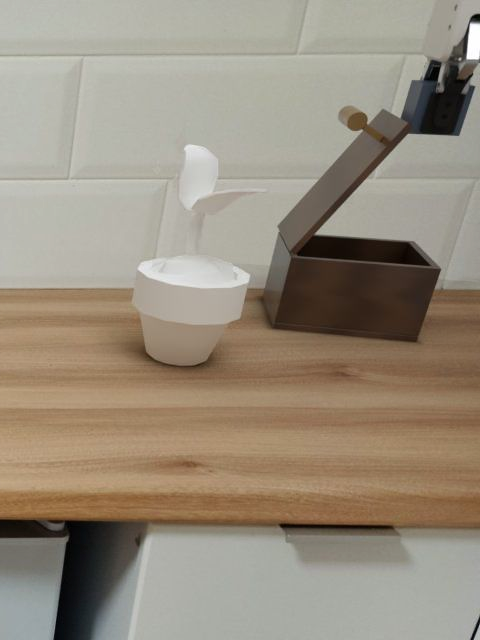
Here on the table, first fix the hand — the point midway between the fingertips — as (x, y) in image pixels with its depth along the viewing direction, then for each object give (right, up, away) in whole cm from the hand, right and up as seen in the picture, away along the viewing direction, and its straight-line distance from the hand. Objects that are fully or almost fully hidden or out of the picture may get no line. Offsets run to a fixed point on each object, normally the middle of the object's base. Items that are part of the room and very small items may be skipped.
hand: (429, 127), depth 99 cm
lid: (-7, -5, +5) cm, 10 cm away
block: (0, 0, 0) cm, 0 cm away
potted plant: (-28, -26, +1) cm, 38 cm away
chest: (-4, -19, +12) cm, 23 cm away
